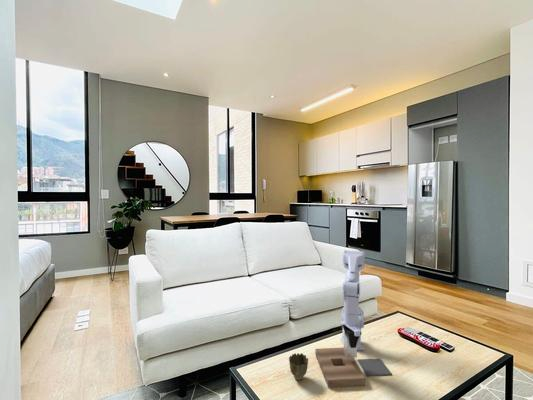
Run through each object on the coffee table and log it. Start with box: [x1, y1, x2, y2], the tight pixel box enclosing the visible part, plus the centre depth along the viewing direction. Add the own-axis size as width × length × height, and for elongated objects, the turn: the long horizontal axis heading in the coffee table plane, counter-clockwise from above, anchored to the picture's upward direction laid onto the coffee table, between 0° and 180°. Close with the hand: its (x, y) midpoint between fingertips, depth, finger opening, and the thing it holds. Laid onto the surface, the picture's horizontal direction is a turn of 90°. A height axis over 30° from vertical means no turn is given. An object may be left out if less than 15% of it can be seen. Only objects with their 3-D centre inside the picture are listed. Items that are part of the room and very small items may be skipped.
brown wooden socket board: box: [314, 347, 366, 389], centre depth 115 cm, size 20×14×3 cm
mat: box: [357, 358, 393, 377], centre depth 116 cm, size 10×10×1 cm
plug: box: [343, 333, 358, 359], centre depth 115 cm, size 4×4×8 cm
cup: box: [288, 352, 309, 381], centre depth 110 cm, size 8×7×8 cm
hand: (351, 344), depth 115 cm, fingers closed on plug, 4 cm apart
